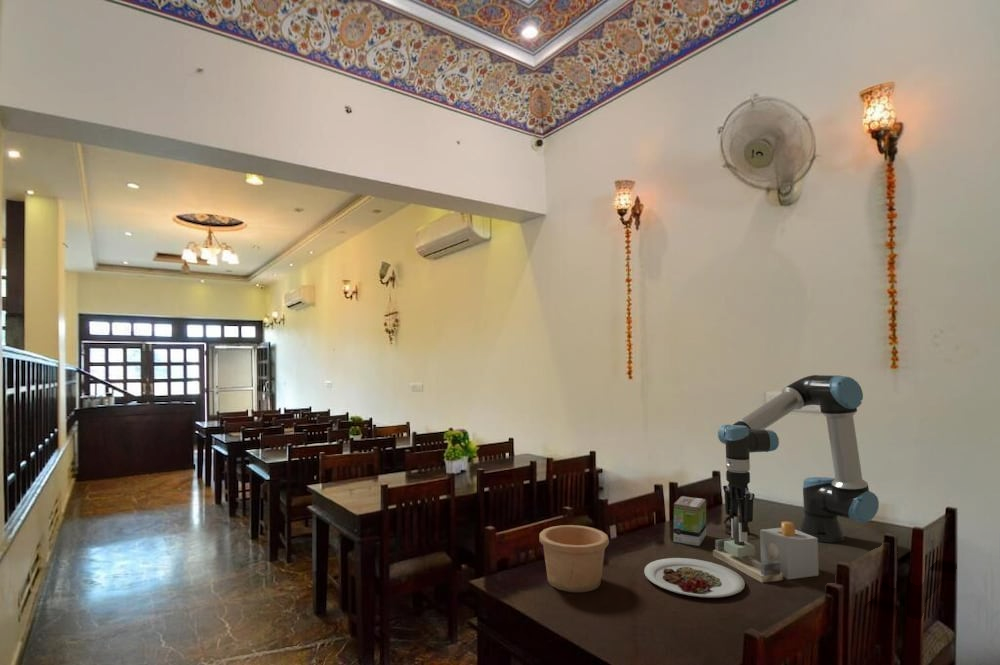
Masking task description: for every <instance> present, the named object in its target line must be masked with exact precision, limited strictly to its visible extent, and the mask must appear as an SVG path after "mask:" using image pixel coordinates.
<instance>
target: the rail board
mask: <svg viewBox="0 0 1000 665" xmlns="http://www.w3.org/2000/svg"><path fill="white" fill-rule="evenodd" d="M732 540H733V538H729V537H728V538H719V539H715V540H714V542H715V545H714V546H715V549H713V550H712V556H713V557H715V558H716V559H718V560H720V561H722V562H724V563H725V564H728V565H729V566H730V567H733V568H734V569H737V570H738V571H740V572H742V573H744V574H745V575H748V576H749V577H751V578H752V579H754V580H757V582H758V581H759V582H760V583H763V584H764V583H769V582H770V583H771V582H777V581H778V582H779V581H783V580H784V577H783V573H781V572H780V563H779V562H777V561H772V562H763V563H761V561H759V560H757V559H755V558H753V557H752V556H744V557H737V556H735V555H733V554H731V553H729V552H727V551H725V550H724V541H732Z"/></svg>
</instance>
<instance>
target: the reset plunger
mask: <svg viewBox="0 0 1000 665" xmlns="http://www.w3.org/2000/svg"><path fill="white" fill-rule="evenodd" d="M780 524H781V525H780V528H781V534H782V535H785V536H787V537H791V536H795V529H796V528H795V527H796V525H795V524H796V523H794V522H792V521H781V522H780Z"/></svg>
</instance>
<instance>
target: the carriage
mask: <svg viewBox="0 0 1000 665" xmlns="http://www.w3.org/2000/svg"><path fill="white" fill-rule="evenodd" d="M739 521H740V515H739V516H734V538H733V539H732V541H724V550H725V551H727V552H729V553H731V554H733V555H735V556H737V557H744V556H749V557H752V556H756V545H753V544H752V543H749V542H748V541H744V542H740V541H739Z"/></svg>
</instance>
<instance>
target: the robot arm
mask: <svg viewBox="0 0 1000 665" xmlns="http://www.w3.org/2000/svg"><path fill="white" fill-rule="evenodd" d="M863 393H864V392H863V390H862V387H861V385H860V384H859V383H858V381H856V379H854V378H852V377H850V376H842V375H826V374H825V375H823V374H821V375H820V374H818V375H817V374H813V375H809V376H808V375H807V376H805V377H803V378H800V379H797V380H795V381H794V382H792V383H790V384H789V385H787V386H786V387H784V388H783V389H782V390H781V393H779V394H778V395H777V396H775V397H774V398H772V399H770V400H768V401H767V402H765V403H764V404H762V405H761V406H759V407H758V408H756V409H754V410H753V411H752V412H750V413H749V414H747V415H745V416H744V417H743V418H741V419H740V420H739V419H738V421H736V422H734V423H733V424H724V425H721V426H720V427H719V428H718V431H717V438H718V440H719V441H720V442H721V443H722V444H724V445H725V467H726V471H725V474H726V475H725V477H726V478H725V479H726V481H727V482H728V483H727V485H723V486H722V489H723V492H724V493H723V494H724V503H725V504H724V505H725V514H726V515H727V516H729V517H730V519H731V523H730V525H731V532H730V534H731V539H734V516H738V515H739V516H740V521H739V541H740V542H744V541H745V542H748V527H749V523H752V522H753V520H754V519H753V518H754V516H753V515H754V499H755V496H756V495H755V493H751V492H750V491H749V486H748V485H749V483H750V482H751V473H750V472H749V471H750V470H751V467H750V466H751V464H750V453H762V452H763V453H765V452H766V453H768V452H772V451H773V452H774V451H776V450H778V447H779V445H780V441H779V440H780V439H779V437H778V435H777V433H776V432H775V431H774V430H771V429H767V428H769V427H770V426H771V425H773V424H775V423H777V422H778V421H779V420H780V419H782V418H783V417H785V416H786V415H788V414H789V413H791V412H793V411H794V410H801V409H802V408H804V407H807V406H819V409H820V413H821V414H822V415H823V416H824V417H826V423H827V424H826V425H827V431H828V437H829V445H830V451H831V458H832V463H833V473H834V477H825V476H824V477H823V476H821V477H820V476H819V477H818V476H817V477H816V476H815V477H806V478H804V480H803V485H802V486H803V487H802V497H803V517H802V520H801V524H800V526H799V531H801V532H803V533H806V534H808V535H811V536H814V537H816V538H818V542H822V543H828V544H829V543H831V544H832V543H833V544H834V543H836V542H837V543H842V542H844V541H845V535H844V532H843V531H842V526H841V523H840V521H839V517H841V518H845V519H847V520H850V521H853V522H859V523H868V522H870V521H872V520H873V519H874V518H875V516H876V514H877V513H878V511H879V504H880V502H879V498H878V496H877V495H876V493H873V492H872V491H870V489H869V484H868V482H867V481H865V480H864V479H863V474H862V469H861V467H862V466H861V460H860V455H859V454H860V453H859V446H858V441H857V440H858V439H857V433H856V426H855V419H854V415H855V414H856V413H857V412H858V407H860V406H861V404H862V403H863V402H862V401H863V399H864V394H863ZM738 513H739V514H738ZM843 540H844V541H843ZM841 541H842V542H841Z"/></svg>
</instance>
